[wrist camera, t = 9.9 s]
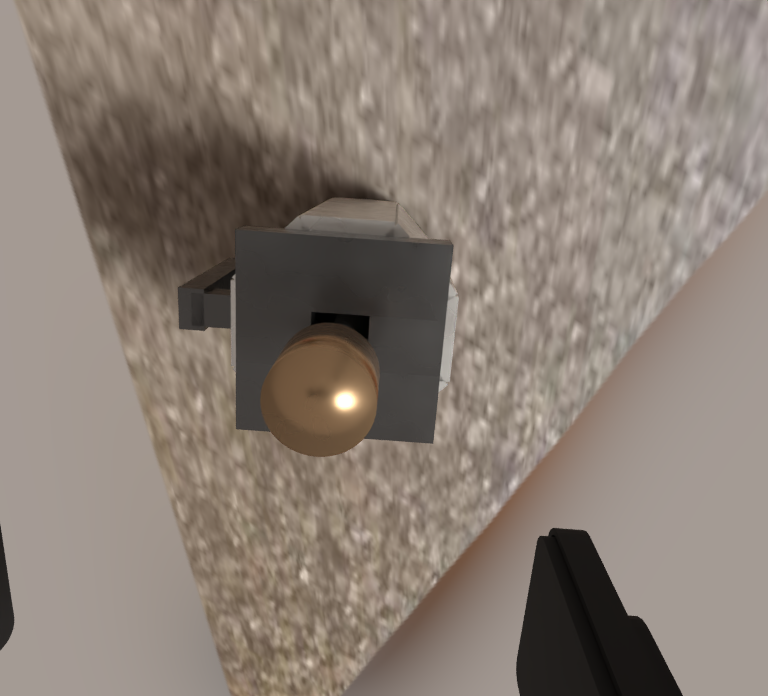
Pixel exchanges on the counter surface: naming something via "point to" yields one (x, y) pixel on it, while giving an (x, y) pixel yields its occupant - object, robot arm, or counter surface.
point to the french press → (337, 304)
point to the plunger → (323, 387)
